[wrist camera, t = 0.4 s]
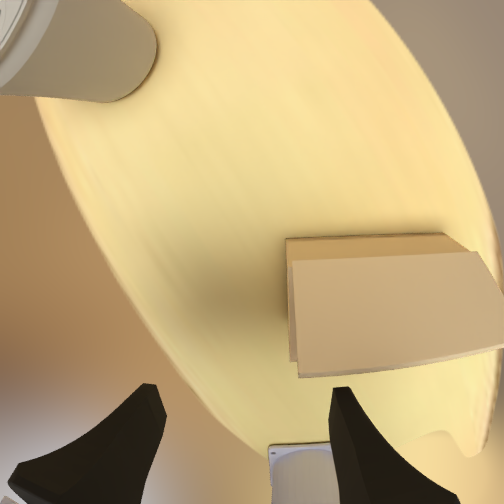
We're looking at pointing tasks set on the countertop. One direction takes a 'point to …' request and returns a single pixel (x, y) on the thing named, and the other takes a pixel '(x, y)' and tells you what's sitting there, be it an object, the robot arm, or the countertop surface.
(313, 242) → the carton
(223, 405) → the countertop surface
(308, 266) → the flap
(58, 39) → the beverage can
